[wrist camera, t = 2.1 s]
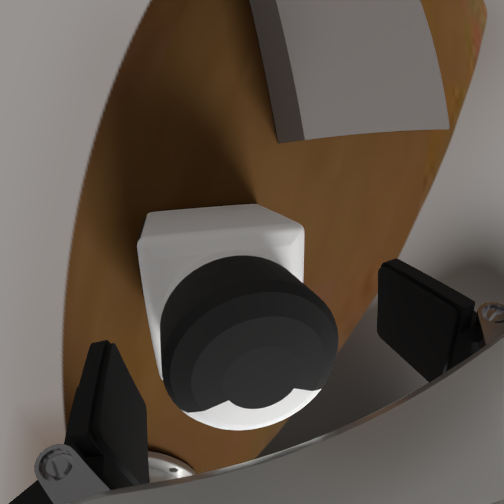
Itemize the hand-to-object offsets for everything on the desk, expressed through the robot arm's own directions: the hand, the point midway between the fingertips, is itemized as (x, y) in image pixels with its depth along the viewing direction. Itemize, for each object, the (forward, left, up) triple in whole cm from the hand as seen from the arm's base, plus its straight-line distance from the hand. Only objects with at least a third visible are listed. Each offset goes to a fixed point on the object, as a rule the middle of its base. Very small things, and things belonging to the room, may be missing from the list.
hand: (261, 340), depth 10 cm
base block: (+12, -12, -11) cm, 20 cm away
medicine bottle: (-1, 0, -11) cm, 11 cm away
